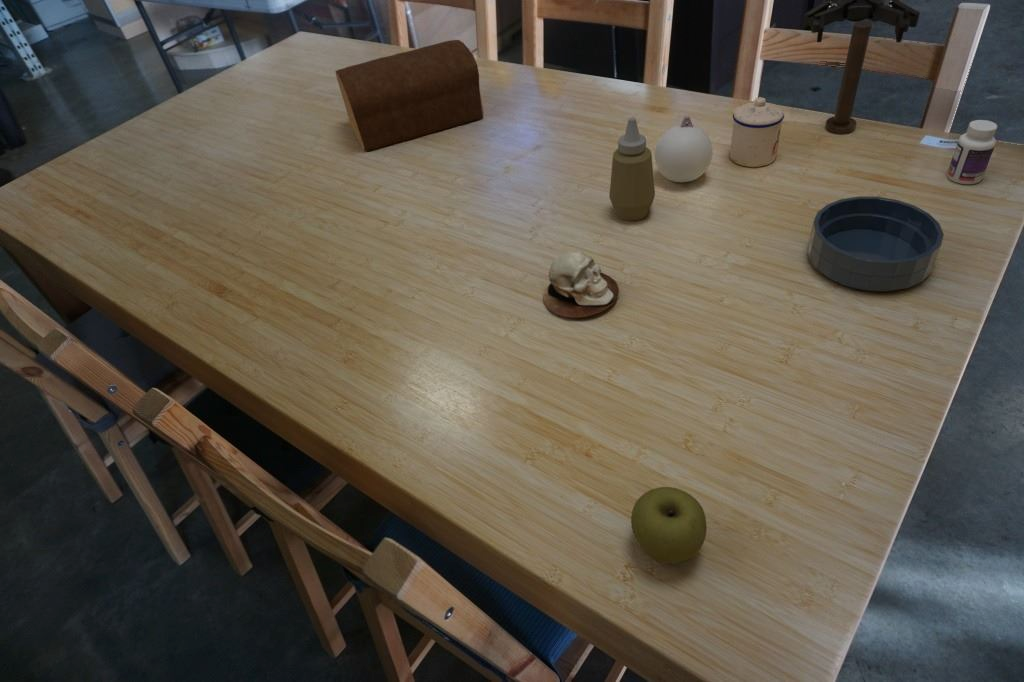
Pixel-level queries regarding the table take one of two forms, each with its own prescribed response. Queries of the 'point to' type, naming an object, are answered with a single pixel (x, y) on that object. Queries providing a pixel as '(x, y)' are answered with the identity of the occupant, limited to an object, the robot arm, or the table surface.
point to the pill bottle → (973, 153)
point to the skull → (578, 286)
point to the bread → (411, 93)
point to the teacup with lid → (756, 133)
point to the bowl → (874, 243)
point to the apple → (668, 524)
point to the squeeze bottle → (632, 175)
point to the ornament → (683, 152)
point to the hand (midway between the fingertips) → (859, 34)
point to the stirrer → (850, 80)
